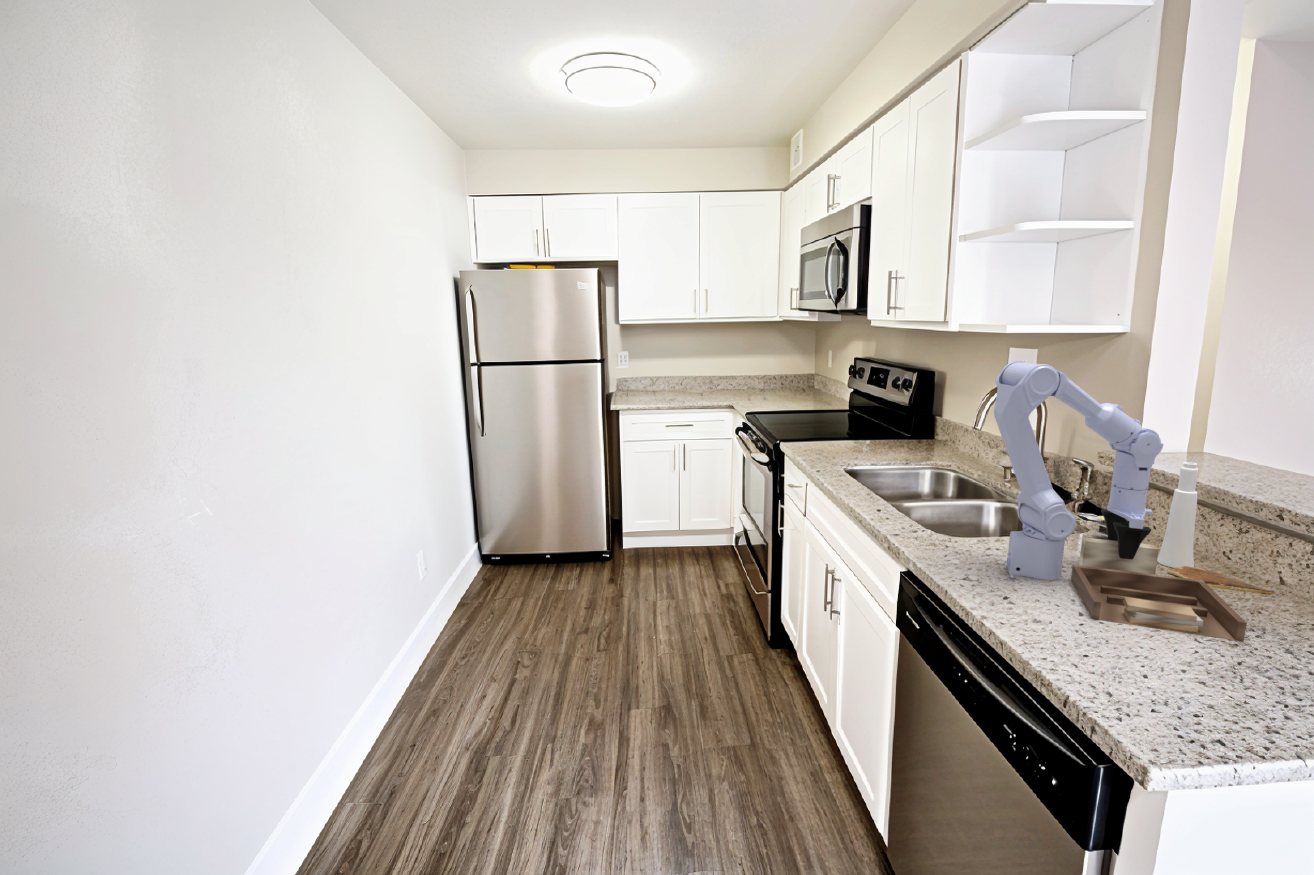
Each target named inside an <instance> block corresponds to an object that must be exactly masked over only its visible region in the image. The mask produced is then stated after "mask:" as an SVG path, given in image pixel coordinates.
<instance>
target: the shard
mask: <svg viewBox="0 0 1314 875" xmlns="http://www.w3.org/2000/svg"><path fill="white" fill-rule="evenodd" d="M1166 573H1167V574H1170V575H1172V576H1174V577H1179V578H1187V579H1195V580H1203V581H1204V582H1205V583H1206V584H1207V585H1208V586H1209V587H1210V588H1218V589H1225V590H1232V591H1233V590H1234V591H1237V592H1238V591H1239V592H1248V593H1256V594H1257V593H1258V594H1266V595H1267V594H1268V595H1273V594H1276V592H1275V591H1272V590H1268V589H1266V588H1262V587H1260V586H1257V585H1253V584H1250V583H1247V582H1245V581H1243V580H1241V579H1236V578H1234V577H1230V576H1228V575H1225V574H1222V573H1219V572H1216V571H1213V570H1209V569H1206V568H1203V567H1199V566H1198V567H1197V566H1196V567H1195V566H1194V567H1190V566H1184V567H1179V568H1169V569H1168V570H1167V572H1166Z"/></svg>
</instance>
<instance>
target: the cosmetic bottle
mask: <svg viewBox="0 0 1314 875" xmlns="http://www.w3.org/2000/svg"><path fill="white" fill-rule="evenodd" d="M1182 465H1183V466H1181V467H1180V470H1179V478H1178V483H1177V488H1174V492H1173V496H1172V501H1171V505H1170V509H1169V515H1168V519H1167V522H1166V528H1165V529H1166V530H1165V533H1164V537H1163V541H1162V544H1161V547H1160V550H1159V552H1158V558H1157V564H1160V565H1162V566H1165V567H1168V568H1170V569H1172V568H1179V567H1184V566H1190V567H1195V563H1194V561H1195V560H1194V559H1195V558H1194V542H1195V539H1194V538H1195V528H1196V517H1197V508H1198V507H1197V506H1198V491H1196V488H1197V482H1198V476H1199V468H1198V465H1199V464H1198V463H1197V462H1192V461H1183V462H1182Z"/></svg>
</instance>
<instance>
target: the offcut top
mask: <svg viewBox="0 0 1314 875" xmlns="http://www.w3.org/2000/svg"><path fill="white" fill-rule="evenodd" d="M1123 602H1124V605H1125V607H1126V609H1127V611H1133V612H1139V613H1145V614H1150V615H1156V616H1162V617H1168V618H1174V619H1180V620H1186V621H1192V622H1196V621H1197V616H1196V614H1195V613H1194V611H1193V610H1192V608H1191V607H1186V606H1180V605H1173V604H1167V603H1161V602H1155V601H1149V600H1142V599H1136V598H1130V597H1124V600H1123Z"/></svg>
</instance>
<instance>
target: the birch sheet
mask: <svg viewBox="0 0 1314 875" xmlns="http://www.w3.org/2000/svg"><path fill="white" fill-rule="evenodd" d="M1159 552H1160V550H1159V548H1158V547H1157V546H1156V544H1149V543H1148V544H1147V543H1141V544H1140V546H1139V548H1138V550H1137V552H1136V555H1135V557H1134V558H1133V560H1131V559H1122V558H1120V557H1119V553H1118V541H1112V540H1108V539H1101V538H1093V537H1092V538H1091V537H1082V539H1081V548H1080V557H1079V564H1078V565H1080V566H1088V567H1096V568H1104V569H1113V570H1121V571H1129V572H1137V573H1146V574H1154V575H1156V572H1157V565H1158V562H1157V558H1158V555H1159Z"/></svg>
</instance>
